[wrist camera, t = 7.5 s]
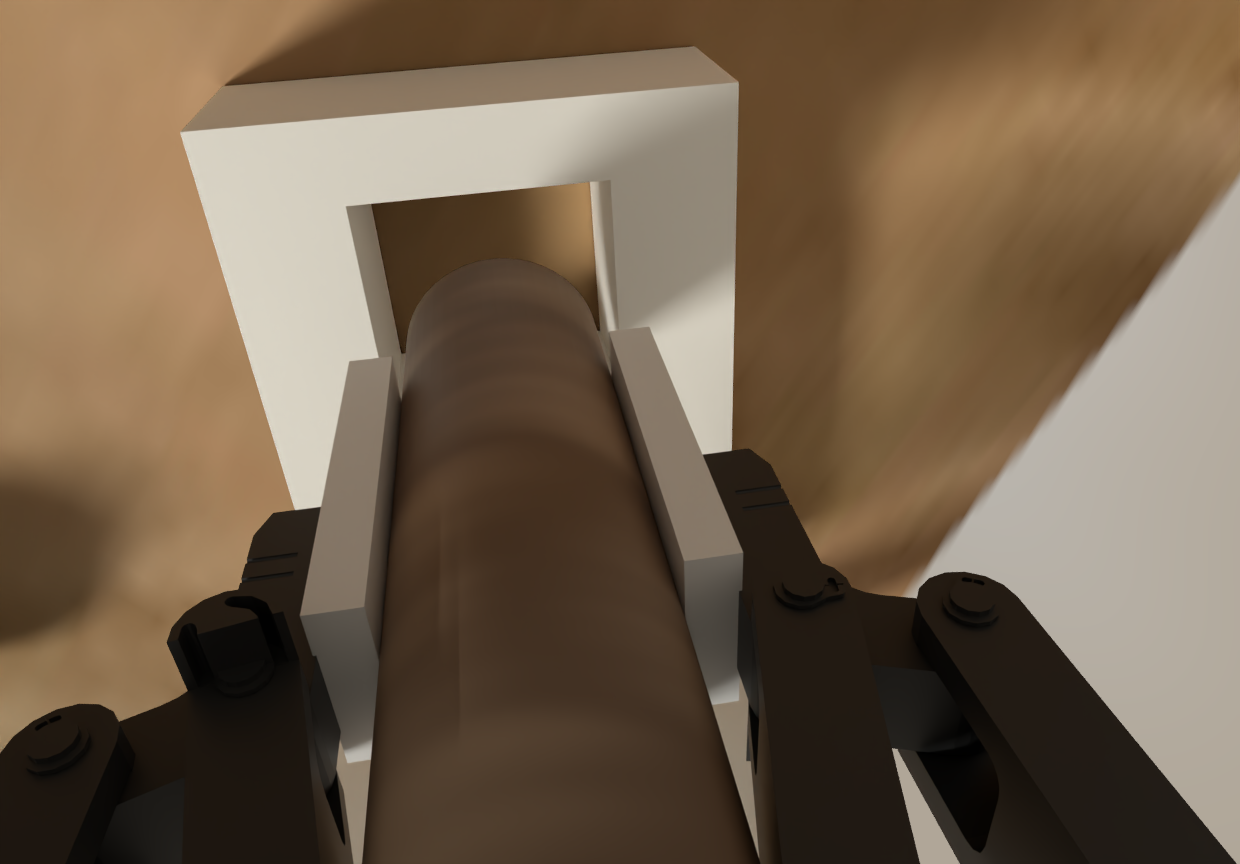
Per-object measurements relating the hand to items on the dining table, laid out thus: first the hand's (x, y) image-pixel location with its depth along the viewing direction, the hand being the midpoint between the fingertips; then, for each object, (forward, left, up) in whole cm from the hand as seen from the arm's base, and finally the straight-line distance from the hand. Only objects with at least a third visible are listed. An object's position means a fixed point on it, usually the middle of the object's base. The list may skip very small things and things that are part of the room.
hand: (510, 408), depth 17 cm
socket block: (+4, 0, -8) cm, 9 cm away
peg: (0, 0, -3) cm, 3 cm away
